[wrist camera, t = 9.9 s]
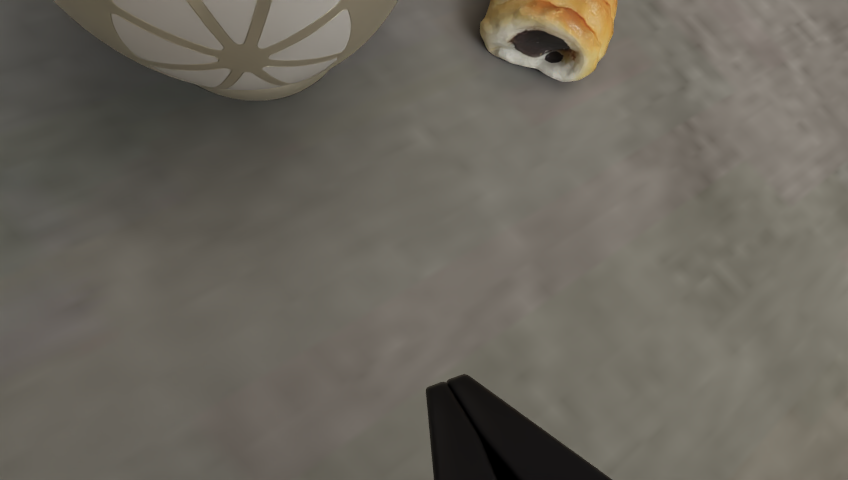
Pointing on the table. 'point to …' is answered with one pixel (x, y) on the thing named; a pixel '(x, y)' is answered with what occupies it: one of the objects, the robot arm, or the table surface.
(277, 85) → the teapot
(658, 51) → the table surface
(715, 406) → the table surface
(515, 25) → the pastry
